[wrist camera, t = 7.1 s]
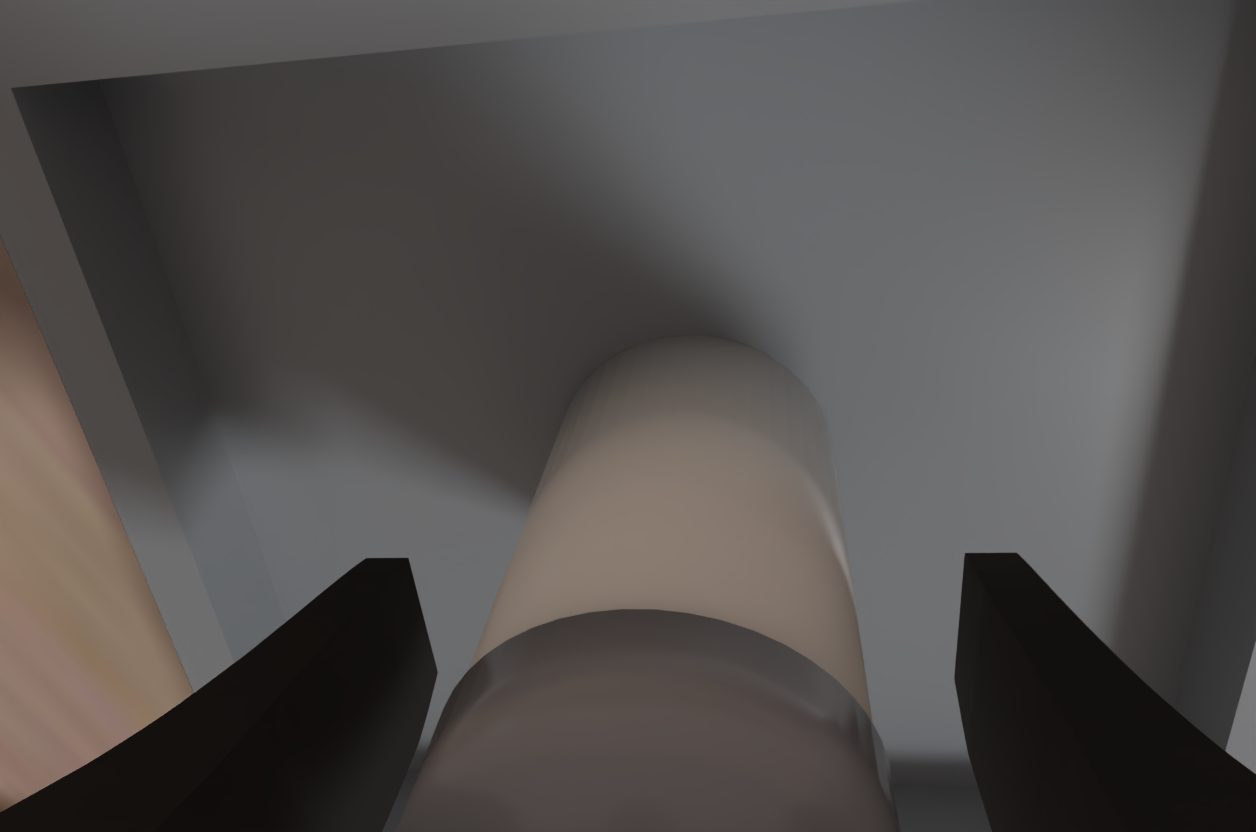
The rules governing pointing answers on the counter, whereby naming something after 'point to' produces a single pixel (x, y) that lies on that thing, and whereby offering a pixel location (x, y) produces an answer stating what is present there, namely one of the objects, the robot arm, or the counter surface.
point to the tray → (661, 299)
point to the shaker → (670, 623)
